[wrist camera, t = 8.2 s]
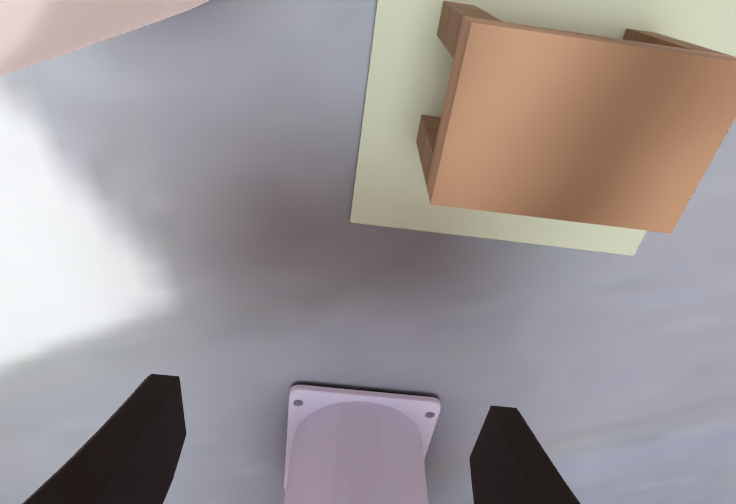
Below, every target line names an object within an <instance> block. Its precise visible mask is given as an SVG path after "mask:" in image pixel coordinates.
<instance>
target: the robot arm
mask: <svg viewBox="0 0 736 504" xmlns="http://www.w3.org/2000/svg"><path fill="white" fill-rule="evenodd" d="M440 410H441V404H440V401H439V399H437V398H434V397H426V396H415V395H404V394H394V393H383V392H372V391H362V390H351V389H341V388H330V387H319V386H309V385H295V386H293V387H292V388H291V389H290V394H289V408H288V424H287V441H286V458H285V474H284V490H285V497H284V503H283V504H429V503H428V494H427V484H426V474H425V464H424V459H425V456H426V453H427V450H428V447H429V444H430V441H431V438H432V435H433V432H434V429H435V426H436V422H437V419H438V416H439V413H440ZM185 436H186V428H185V419H184V411H183V403H182V395H181V387H180V379H179V376H168V375H157V374H151V375H149V376H148V377H147V378H146V379H145V380H144V381H143V382H142V383H141V385H140V386H139V387H138V388H137V389H136V390H135V391H134V392H133V394H132V395H131V396H130V397H129V398H128V399H127V400H126V401H125V402H124V403H123V405H122V406H121V407H120V408H119V409H118V410H117V411H116V412H115V413H114V414H113V415H112V416H111V417H110V419H109V420H108V421H107V422H106V423H105V424H104V425H103V426H102V427H101V428H100V429H99V430H98V431H97V432H96V433H95V434H94V435H93V436H92V437H91V438H90V439H89V440H88V441H87V442H86V443H85V444H84V445H83V446H82V447H81V448H80V449H79V450H78V451H77V452H76V453H75V454H74V456H73V457H72V458H71V459H70V460H68V461H67V462H66V463H65V464H64V465H63V466H62V467H61V468H60V469H59V470H58V471H57V472H56V473H55V474H54V475H53V476H52V477H51V478H50V479H48V480H47V481H46V482H45V483H44V484H43V485H42V486H41V487H40V488H39V489H38V490H37V491H36V492H35V493H34V494H32V495H31V496H30V497H29V498H28V499H27V500H26V501H25V502H24V503H23V504H163V502H164V499H165V497H166V495H167V492H168V490H169V487H170V485H171V482H172V480H173V477H174V473H175V470H176V467H177V464H178V460H179V457H180V454H181V450H182V447H183V443H184V440H185ZM470 468H471V479H472V489H473V498H474V504H580V503H579V501H578V500H577V498H576V497H575V495H574V494H573V493H572V491H571V490H570V488H569V487H568V485H567V484H566V483H565V481H564V480H563V478H562V477H561V475H560V474H559V472H558V471H557V469H556V468H555V466H554V465H553V463H552V462H551V460H550V459H549V457H548V456H547V454H546V453H545V451H544V450H543V448H542V447H541V445H540V443H539V442H538V440H537V439H536V437H535V436H534V434H533V433H532V431H531V429H530V428H529V426H528V425H527V423H526V422H525V420H524V418H523V417H522V415H521V414H520V412H519V411H518V410H517V408H510V407H500V406H491V407H490V410H489V412H488V414H487V417H486V419H485V422H484V424H483V427H482V429H481V431H480V434H479V436H478V439H477V441H476V444H475V446H474V449H473V451H472V453H471V456H470Z"/></svg>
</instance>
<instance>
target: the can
mask: <svg viewBox="0 0 736 504" xmlns="http://www.w3.org/2000/svg"><path fill="white" fill-rule="evenodd" d="M208 1H209V0H0V75H3V74H6V73H9V72H12V71H15V70H18V69H21V68H24V67H27V66H30V65H33V64H36V63H39V62H42V61H45V60H48V59H51V58H54V57H57V56H60V55H63V54H66V53H68V52H71V51H74V50H77V49H80V48H83V47H86V46H89V45H92V44H95V43H98V42H101V41H103V40H106V39H109V38H112V37H115V36H118V35H121V34H124V33H127V32H129V31H132V30H135V29H138V28H141V27H144V26H147V25H149V24H152V23H155V22H158V21H161V20H164V19H166V18H169V17H172V16H175V15H177V14H180V13H183V12H185V11H188V10H191V9H193V8H195V7H198V6H200V5H202V4H204V3H206V2H208Z"/></svg>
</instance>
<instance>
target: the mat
mask: <svg viewBox="0 0 736 504" xmlns="http://www.w3.org/2000/svg"><path fill="white" fill-rule="evenodd" d="M443 1H448V2H455V3H461V4H468V5H475V6H476V7H478V8H480V9H482V10H483V11H485V12H487V13H489V14H490V15H492V16H494V17H495V18H497V19H499V20H501V21H502V22H508V23H515V24H522V25H529V26H535V27H542V28H549V29H556V30H562V31H569V32H576V33H583V34H589V35H596V36H603V37H610V38H616V39H623V36H624V34H625V31H626V29H627V28H628V29H635V30H641V31H648V32H655V33H659V34H662V35H665V36H669V37H672V38H675V39H679V40H682V41H685V42H688V43H692V44H695V45H698V46H702V47H705V48H708V49H711V50H715V51H718V52H721V53H725V54H728V55H731V56H734V57H736V0H378V2H377V10H376V18H375V26H374V33H373V41H372V49H371V57H370V65H369V73H368V81H367V89H366V97H365V105H364V113H363V121H362V129H361V137H360V145H359V153H358V161H357V168H356V176H355V184H354V192H353V200H352V208H351V216H350V222H351V223H359V224H368V225H376V226H385V227H393V228H402V229H410V230H419V231H427V232H436V233H445V234H453V235H462V236H470V237H479V238H487V239H496V240H504V241H513V242H521V243H530V244H538V245H547V246H555V247H564V248H573V249H581V250H590V251H598V252H607V253H615V254H624V255H632V256H634V254H635V252H636V250H637V248H638V246H639V244H640V242H641V240H642V239H643V237H644V235H645V233H646V230H638V229H630V228H621V227H613V226H605V225H597V224H588V223H580V222H572V221H564V220H555V219H547V218H539V217H531V216H522V215H514V214H506V213H498V212H489V211H481V210H473V209H465V208H456V207H448V206H440V205H432V204H430V200H429V196H428V191H427V187H426V183H425V178H424V174H423V170H422V165H421V161H420V156H419V152H418V148H417V143H416V140H417V135H418V129H419V124H420V119H421V115H428V116H436V117H441V115H442V111H443V106H444V101H445V97H446V92H447V88H448V83H449V78H450V74H451V69H452V64H453V60H454V58H453V57H452V56H451V54H450V53H449V51H448V50H447V49H446V47H445V46H444V45H443V43H442V42H441V41H440V39H439V38H438V36H437V31H438V26H439V20H440V15H441V10H442V5H443Z"/></svg>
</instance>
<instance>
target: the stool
mask: <svg viewBox="0 0 736 504" xmlns="http://www.w3.org/2000/svg"><path fill="white" fill-rule="evenodd" d="M437 36H438V38H439V39H440V41H441V42H442V43H443V45H444V46H445V47H446V49H447V50H448V51H449V53H450V54H451V56H452V57H453V58H454V60H453V64H452V69H451V74H450V78H449V83H448V88H447V92H446V97H445V101H444V106H443V111H442V115H441V117H436V116H428V115H421V119H420V124H419V129H418V135H417V140H416V143H417V148H418V152H419V156H420V161H421V165H422V170H423V174H424V178H425V183H426V187H427V191H428V196H429V200H430V204H432V205H440V206H448V207H456V208H465V209H473V210H481V211H489V212H498V213H506V214H514V215H522V216H531V217H539V218H547V219H555V220H564V221H572V222H580V223H588V224H597V225H605V226H613V227H621V228H630V229H638V230H646V231H654V232H663V233H672V231H673V229H674V227H675V225H676V224H677V222H678V220H679V218H680V216H681V215H682V213H683V211H684V209H685V207H686V206H687V204H688V202H689V200H690V198H691V197H692V195H693V193H694V191H695V189H696V188H697V186H698V184H699V182H700V180H701V179H702V177H703V175H704V173H705V171H706V170H707V168H708V166H709V164H710V162H711V161H712V159H713V157H714V155H715V153H716V152H717V150H718V148H719V146H720V144H721V143H722V141H723V139H724V137H725V135H726V134H727V132H728V130H729V128H730V126H731V125H732V123H733V121H734V119H735V117H736V57H734V56H731V55H728V54H725V53H721V52H718V51H715V50H711V49H708V48H705V47H702V46H698V45H695V44H692V43H688V42H685V41H682V40H679V39H675V38H672V37H669V36H665V35H662V34H659V33H655V32H648V31H641V30H635V29H628V28H627V29H626V31H625V34H624V36H623V39H616V38H610V37H603V36H596V35H589V34H583V33H576V32H569V31H562V30H556V29H549V28H542V27H535V26H529V25H522V24H515V23H508V22H502V21H501V20H499V19H497V18H495V17H494V16H492V15H490V14H489V13H487V12H485V11H483V10H482V9H480V8H478V7H476V6H475V5H468V4H461V3H455V2H448V1H443V5H442V10H441V15H440V20H439V26H438V31H437Z"/></svg>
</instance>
